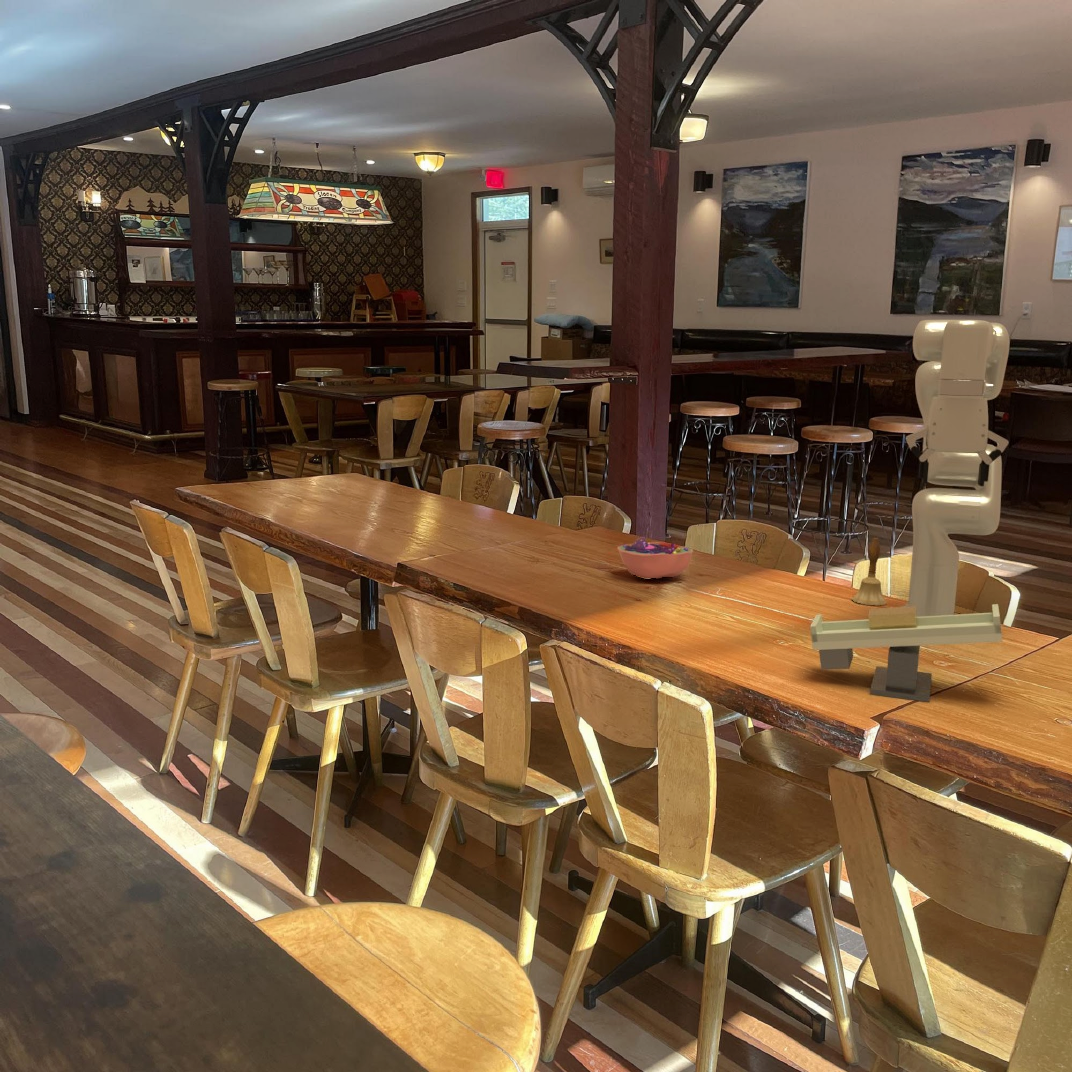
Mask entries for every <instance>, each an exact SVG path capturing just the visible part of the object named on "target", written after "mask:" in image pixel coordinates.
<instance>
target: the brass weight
mask: <svg viewBox="0 0 1072 1072" xmlns="http://www.w3.org/2000/svg"><path fill="white" fill-rule="evenodd" d="M867 617H868V619H869V628H870V630H881V629H901V628H918V623H917V614H916V606H910V607H901V606H897V607H880V608H879V607H877V608H870V609H869V612H868V615H867Z"/></svg>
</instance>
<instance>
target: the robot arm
mask: <svg viewBox="0 0 1072 1072" xmlns="http://www.w3.org/2000/svg"><path fill="white" fill-rule="evenodd" d="M912 350H913V351H912V352H913V355H914V357H915V359H916V360H917V361H925V362H924V363H922V364H921V365H919V366H918V368H917V369H916V373H915V379H914V380H915V382H914V383H915V385H914V386H915V395H916V396H915V397H916V400H917V404H918V408H919V412H920V414H921V416H922V421H923V428H922V429H921V430H918V431H916V432H914V433H911V434H908V435H907V436H905V441H906V443H907V445H908V447H909V449H910V451H911V452H912V454H913V455H914V456H915V457H916V458H917V459H918V460H919V468H918V479H921V484H923V485H924V484H925V485H926V484H928V483H930V484H931V485H932V484H933V485H939V486H950V487H951V486H952V487H953V486H954V487H966V488H967V487H971V488H974V489H962V488H961V489H960V488H947V487H945V488H944V487H930V488H929V487H928V488H925V489H922V490H919V491H918V492H917V493H916V494H915V495H914V496H913V499H912V505H911V516H912V531H913V532H912V533H913V535H912V538H913V539H912V555H911V564H910V565H911V566H910V567H911V568H910V577H909V590H908V591H909V592H908V602H907V603H906V604H904V605H901V606H900V607H910V606H916V614H917V617H921V616H939V615H955V605H956V594H957V585H958V584H957V583H958V575H959V562H960V553H959V551H958V547H957V545H956V544H954V542H953V541H952V539H950V537H949V536H948V535H949V534H950V535H952V534H953V535H954V534H961V535H973V536H974V535H975V536H987V535H992V534H994V533H995V532H996V530H997V529H998V528H999V524H1000V520H1001V519H1000V517H1001V502H1002V501H1001V498H1002V472H1003V469H1002V466H1003V465H1002V464H1003V463H1002V456H1001V455H1002V453H1003V452H1004V451H1005V450H1006V448H1007V447H1008V445H1009V440H1008V439H1006V438H1004V437H1002V436H1000V435H998V434H996V433H995V432H993V431H991V430H989V412H988V411H989V408H988V406H989V405H988V401H990V400H994V399H995V398H997V397H998V396H999V394H1000V393H1001V392H1002V391H1001V390H1002V388H1003V384H1004V379H1005V373H1006V367H1007V363H1008V360H1009V359H1008V358H1009V352H1010V335H1009V332H1008V330H1007V328H1006V327H1005V325H1003V324H1002V323H999V322H989V321H988V320H984V319H983V320H981V319H924V320H920V321H919V322H918V324H917V325H916V327H915V330H914V333H913V338H912ZM922 438H923V442H922V450H921V449H919V447H918V446H917V443H916V441H917V440H920V439H922ZM988 439H990V440H992V441H994V442H995V443H996V444H997V446H994V445H993V444H989V443H988Z"/></svg>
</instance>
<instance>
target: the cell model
mask: <svg viewBox="0 0 1072 1072" xmlns="http://www.w3.org/2000/svg"><path fill="white" fill-rule="evenodd" d="M616 549H617V550H618V552H619V555H620V558H621V561H622V563H623V564H624V566H625V567H626V569H627V571H628V573H629V574H630V573H631V574H630V575H632V574H633V575H637V576H640V577H644V578H656V579H663V578H662V577H673V578H675V577H674V576H676V577H677V576H679V575H680V574H682V573H684V571H686V570H687V568H688V567H689V565H690V562H691V559H692V554H693V552H694V549H693V548H690V547H687V546H684V545H683V546H682V545H678V544H675V543H672V542H671V543H669V542H661V541H660V542H659V541H658V542H657V541H649V542H647V541H646V537H645V536H640V537H638V538H637V539H635V540H634V542H633V543H627V544H622V545H618V546H617V548H616ZM633 575H632V576H633Z"/></svg>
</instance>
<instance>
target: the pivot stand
mask: <svg viewBox="0 0 1072 1072" xmlns="http://www.w3.org/2000/svg"><path fill="white" fill-rule="evenodd" d="M920 650H921V645H917V646H894V647H888V656H887V667H885V666H875V670H874V675H873V678H872V682H871V684H870V685H871V686H870V689H869V690H870V692H869V695H873V696H881V697H889V698H895V699H903V700H908V701H909V700H910V701H917V702H924V703H925V702H926V703H930V698H931V697H930V696H931V688H932V687H931V686H932V676H933V675H932V674H933V673H931V672H923V671H919V661H920Z"/></svg>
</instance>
